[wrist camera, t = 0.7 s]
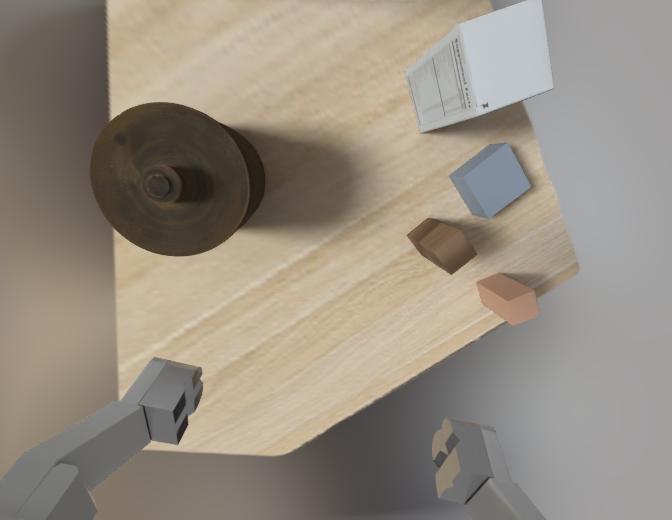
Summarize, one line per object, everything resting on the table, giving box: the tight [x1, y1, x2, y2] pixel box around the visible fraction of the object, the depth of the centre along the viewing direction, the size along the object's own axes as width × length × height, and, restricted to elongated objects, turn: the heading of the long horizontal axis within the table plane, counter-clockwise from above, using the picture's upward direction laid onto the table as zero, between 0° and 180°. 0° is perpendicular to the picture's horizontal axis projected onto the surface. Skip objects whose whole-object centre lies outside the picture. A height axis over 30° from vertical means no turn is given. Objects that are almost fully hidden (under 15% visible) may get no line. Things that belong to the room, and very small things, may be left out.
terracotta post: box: [476, 273, 539, 326], centre depth 56 cm, size 4×4×9 cm
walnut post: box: [407, 218, 477, 275], centre depth 51 cm, size 4×4×11 cm
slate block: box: [449, 142, 531, 219], centre depth 53 cm, size 8×8×5 cm
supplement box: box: [405, 0, 554, 133], centre depth 42 cm, size 10×9×17 cm
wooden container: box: [90, 102, 265, 256], centre depth 39 cm, size 15×15×22 cm
